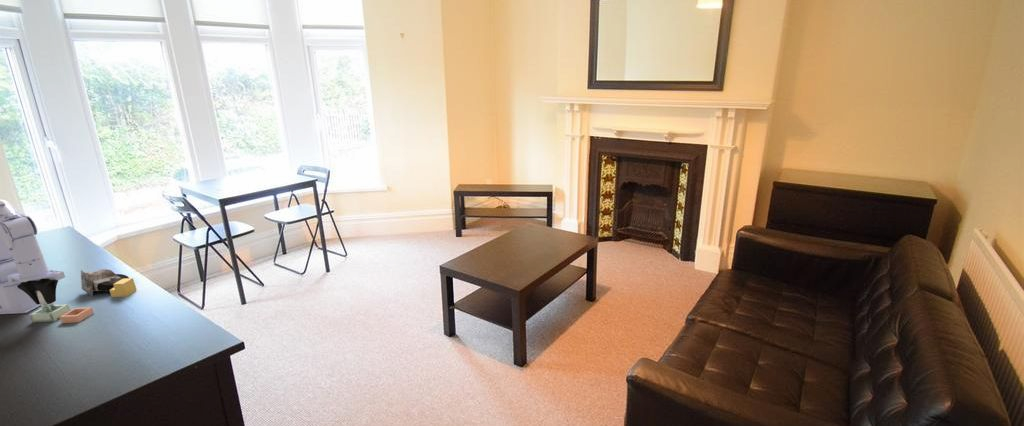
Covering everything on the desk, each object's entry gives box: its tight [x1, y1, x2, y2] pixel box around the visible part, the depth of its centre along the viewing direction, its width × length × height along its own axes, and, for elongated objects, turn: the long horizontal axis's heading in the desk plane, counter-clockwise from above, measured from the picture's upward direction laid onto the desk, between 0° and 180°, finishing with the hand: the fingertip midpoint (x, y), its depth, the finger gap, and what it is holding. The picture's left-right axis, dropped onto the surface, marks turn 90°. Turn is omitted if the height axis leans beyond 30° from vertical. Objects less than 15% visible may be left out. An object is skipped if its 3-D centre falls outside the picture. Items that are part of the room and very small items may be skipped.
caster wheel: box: [80, 268, 130, 296], centre depth 154 cm, size 7×11×10 cm
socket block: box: [59, 306, 95, 324], centre depth 137 cm, size 5×5×2 cm
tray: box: [29, 303, 72, 323], centre depth 138 cm, size 6×5×2 cm
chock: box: [109, 277, 138, 298], centre depth 150 cm, size 5×4×4 cm
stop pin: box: [35, 289, 55, 313], centre depth 137 cm, size 3×3×7 cm
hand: (46, 302), depth 137 cm, fingers closed on stop pin, 2 cm apart
